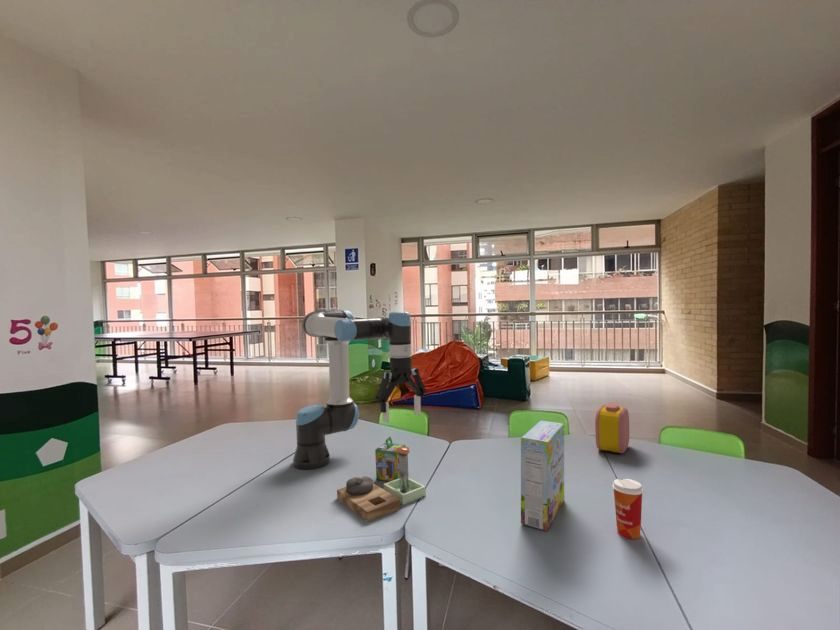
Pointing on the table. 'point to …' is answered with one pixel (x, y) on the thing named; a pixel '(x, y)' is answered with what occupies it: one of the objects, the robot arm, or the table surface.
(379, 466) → the chalk box
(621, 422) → the pink and yellow case
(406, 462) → the lock pin
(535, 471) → the snack box
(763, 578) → the table surface
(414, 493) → the tray
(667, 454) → the table surface
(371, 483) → the block
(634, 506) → the paper cup
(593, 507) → the table surface
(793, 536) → the table surface
